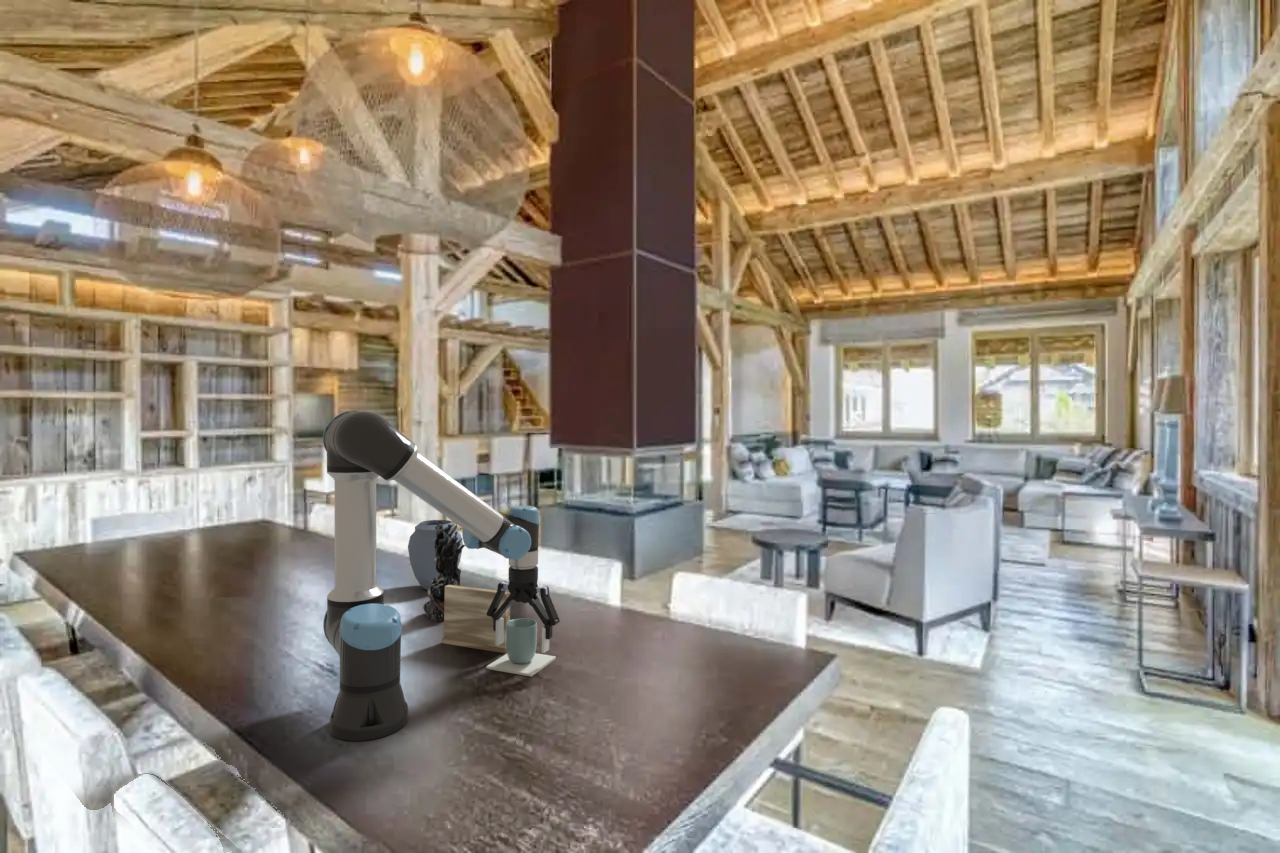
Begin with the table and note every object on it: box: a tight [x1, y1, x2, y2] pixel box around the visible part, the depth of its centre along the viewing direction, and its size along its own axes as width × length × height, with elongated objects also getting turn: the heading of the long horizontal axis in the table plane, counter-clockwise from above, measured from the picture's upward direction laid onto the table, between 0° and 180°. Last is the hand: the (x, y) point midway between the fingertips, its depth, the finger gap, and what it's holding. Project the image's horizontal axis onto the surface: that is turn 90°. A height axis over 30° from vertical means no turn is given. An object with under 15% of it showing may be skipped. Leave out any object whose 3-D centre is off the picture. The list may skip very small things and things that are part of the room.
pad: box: [485, 652, 557, 678], centre depth 170 cm, size 13×13×1 cm
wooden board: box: [441, 585, 511, 654], centre depth 182 cm, size 3×21×16 cm, turn 70°
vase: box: [407, 519, 464, 591], centre depth 242 cm, size 20×20×24 cm
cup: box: [506, 618, 538, 664], centre depth 170 cm, size 8×8×10 cm
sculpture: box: [422, 519, 466, 622], centre depth 208 cm, size 14×15×30 cm
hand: (522, 647), depth 170 cm, fingers open, 13 cm apart
